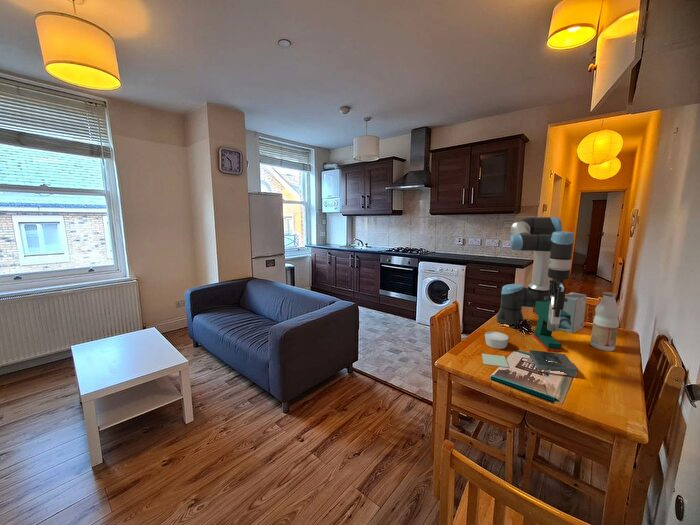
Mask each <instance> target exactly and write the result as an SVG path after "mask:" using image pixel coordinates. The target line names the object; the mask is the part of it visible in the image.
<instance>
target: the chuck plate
mask: <svg viewBox="0 0 700 525" xmlns="http://www.w3.org/2000/svg"><path fill="white" fill-rule="evenodd" d="M529 356H530V357H529ZM528 357H529V359H530V358H531V359H532V361H533V362H534V364H535V366H536V368H537V370H551V371H560V372H564V373H566V374H567V375H569V376H571V378H577V375H578V368H577V367H576V366H575V365H574V363H573V362H572V360H570V358H569V357H568V356H567V354H565V353H561V352H553V351H541V350H534V349H529V354H528ZM531 359H530V360H531ZM546 360H547V361H546ZM532 361H531V362H532ZM548 361H556V362H558V363H555V362H548ZM536 368H535V369H536ZM537 370H536V371H537ZM569 376H568V377H569Z"/></svg>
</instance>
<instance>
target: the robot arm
mask: <svg viewBox="0 0 700 525" xmlns="http://www.w3.org/2000/svg"><path fill="white" fill-rule="evenodd" d="M509 232H510V239H509V240H510V242H509V249H510V250H511V251H518V252H520V251H523V252H524V251H526V252H527V251H528V252H533V251H534V257H533V266H532V274H531V275H532V276H531V283H529V284H528V286H527V287H525V286H524V284H519V283H510V284H509V283H508V284H505V285H503V286H502V288H501V292H500V293H501V298H500V308H499V310H498V312H497V314H496V321H497V322H499V323H502V324H504V325H509V326H510V325H511V326H513V325H512V324H516V323H519V322H521V321H524V322H525V318H524V314H523V310H522V309H523V307H524V308H533V309H535V305H536V301H542V302H549V305H550V301H547V300H544V297H545V296H547V297H550V296H551V295H554V308H552V309H553V311H552V321H551V323H552V324H559V323H560V314H561V310H563V308H564V300H565V295H566V293H567V287H566V284H565V280H568V279H570V276H571V270H570V269H571V267H572V260H573V259H572V257H573V249H574V244H575V243H574V242H575V233H574V232H572V231H563V224H562V220H561V218H559V217H555V216H554V217H553V216H543V217H542V216H541V217H537V216H536V217H530V216H529V217H523V218H520V219H518V220H516V221H514V222H513V223H512V224H511V226H510V231H509Z"/></svg>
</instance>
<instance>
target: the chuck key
mask: <svg viewBox="0 0 700 525" xmlns="http://www.w3.org/2000/svg"><path fill="white" fill-rule="evenodd" d="M544 300H547V301H550V305H549V314H548V324H547V329H548V330H550V331H552V332H555V333H556V332H559V330H558V328H559V324H552V323H551V321H552V311H553V309H552V308H554V295H551V296H550V297H547V296H545V297H544ZM567 301H568V299H567V298H565V300H564V302H567Z"/></svg>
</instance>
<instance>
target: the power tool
mask: <svg viewBox="0 0 700 525" xmlns="http://www.w3.org/2000/svg"><path fill="white" fill-rule="evenodd" d="M534 314H536V315H537V316H538V317H537V322H536V326H535V329H533V333H532V336H531V337H533V339H535V340H536V341H537V343H539V344H540V345H541V346H542V347H543V348H544V349H545V351H546V352H552V353H563V349H562V344H561V343H560V342H559V341H558V340H557V339H556V338H555V337H554V336H553V335H552V334H553V331H550V330H548V329H547V324H548V314H549V302H542V301H536V305H535V308H534ZM570 319H571V315H569V314H567V313H566V312H564V311H563V310H561V314H560V323H559V328H561V329H572V330H573V328H572V327H571V321H570Z"/></svg>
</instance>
